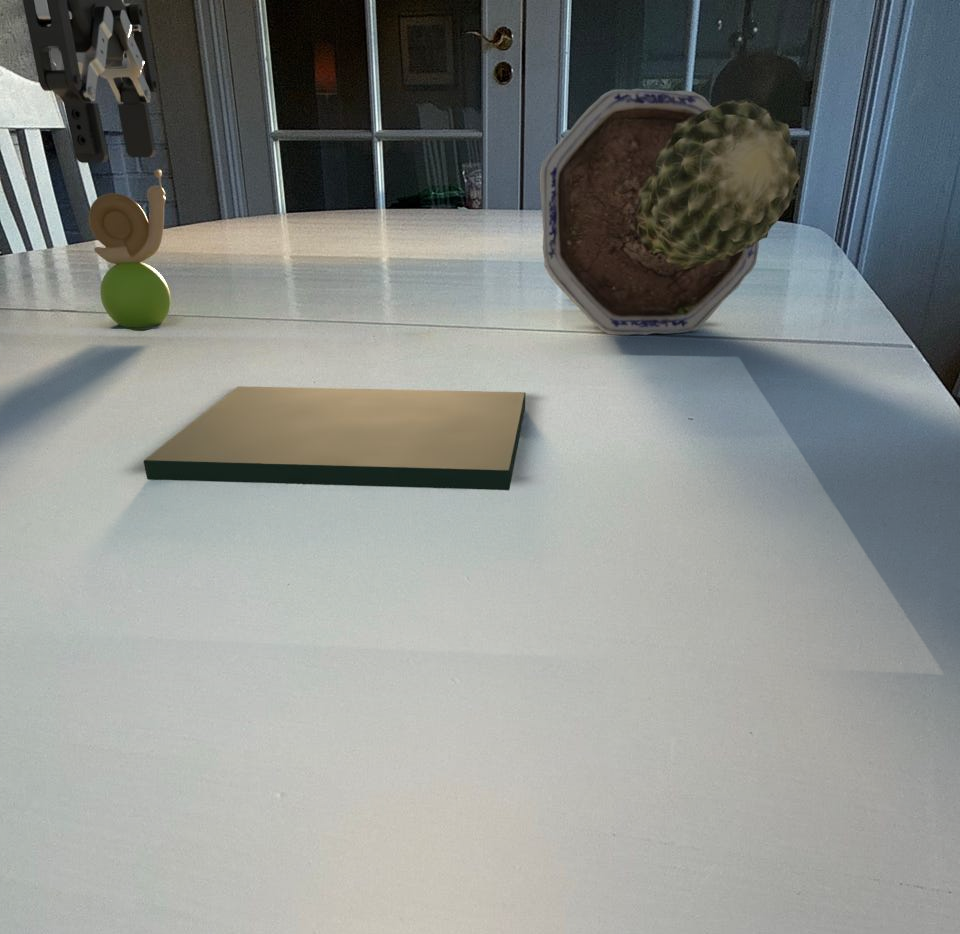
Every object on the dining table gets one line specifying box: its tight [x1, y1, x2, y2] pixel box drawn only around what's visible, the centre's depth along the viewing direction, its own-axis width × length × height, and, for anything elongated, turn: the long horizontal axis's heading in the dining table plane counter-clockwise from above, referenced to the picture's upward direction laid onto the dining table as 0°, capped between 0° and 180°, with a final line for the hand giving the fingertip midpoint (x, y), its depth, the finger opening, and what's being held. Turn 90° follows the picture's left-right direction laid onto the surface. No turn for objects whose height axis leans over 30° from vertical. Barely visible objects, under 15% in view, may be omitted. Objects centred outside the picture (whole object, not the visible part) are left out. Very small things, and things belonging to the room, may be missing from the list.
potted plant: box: [539, 88, 801, 336], centre depth 68 cm, size 18×18×30 cm
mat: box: [143, 386, 527, 491], centre depth 49 cm, size 18×14×1 cm
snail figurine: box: [88, 168, 172, 332], centre depth 73 cm, size 5×6×12 cm
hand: (118, 159), depth 69 cm, fingers open, 8 cm apart
